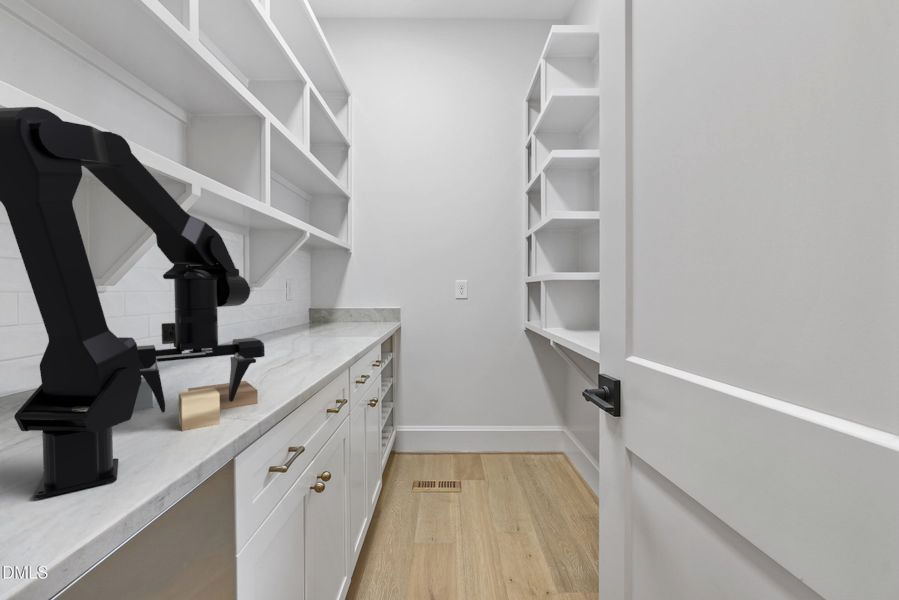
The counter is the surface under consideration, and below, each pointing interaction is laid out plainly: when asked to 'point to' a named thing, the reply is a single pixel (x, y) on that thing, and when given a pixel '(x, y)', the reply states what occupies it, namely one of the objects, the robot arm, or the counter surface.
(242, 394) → the walnut block
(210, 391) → the maple cube
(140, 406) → the slate cube
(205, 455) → the counter surface
